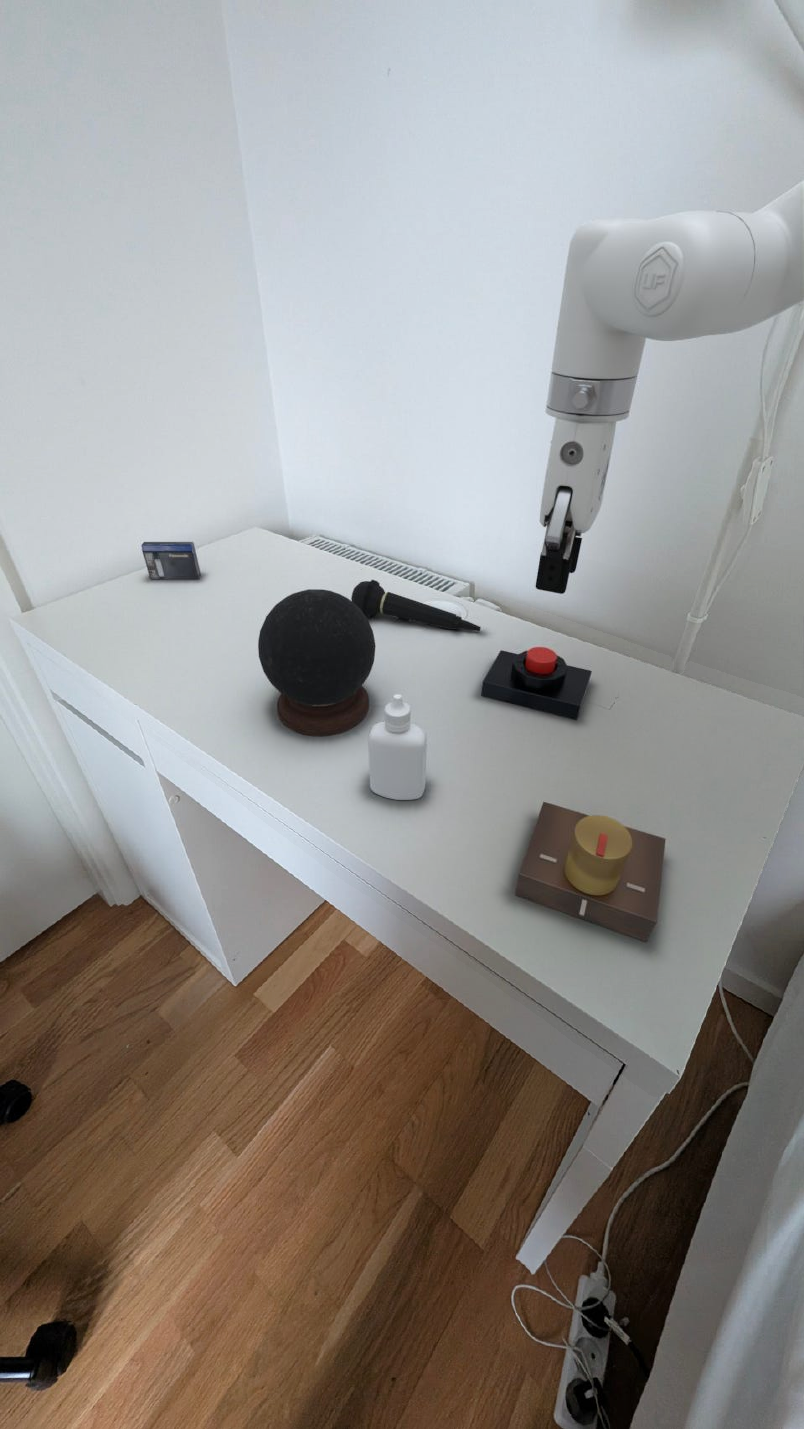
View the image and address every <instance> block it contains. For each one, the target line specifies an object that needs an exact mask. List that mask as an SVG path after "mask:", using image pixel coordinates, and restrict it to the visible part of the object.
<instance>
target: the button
mask: <svg viewBox="0 0 804 1429" xmlns="http://www.w3.org/2000/svg"><path fill="white" fill-rule="evenodd" d="M527 651H528V652H527V656H526V662H525V666H526V668H527V669H528V670H530V671H531V672H534V673H539V674H550V673H552V672H553V671H554V669H555V664H556V659H557V655H558V654H557V653H556V652H555V651H554V650H553V649H551V648H548V647H544V646H535V647H531V648H529V649H528V650H527Z"/></svg>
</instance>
